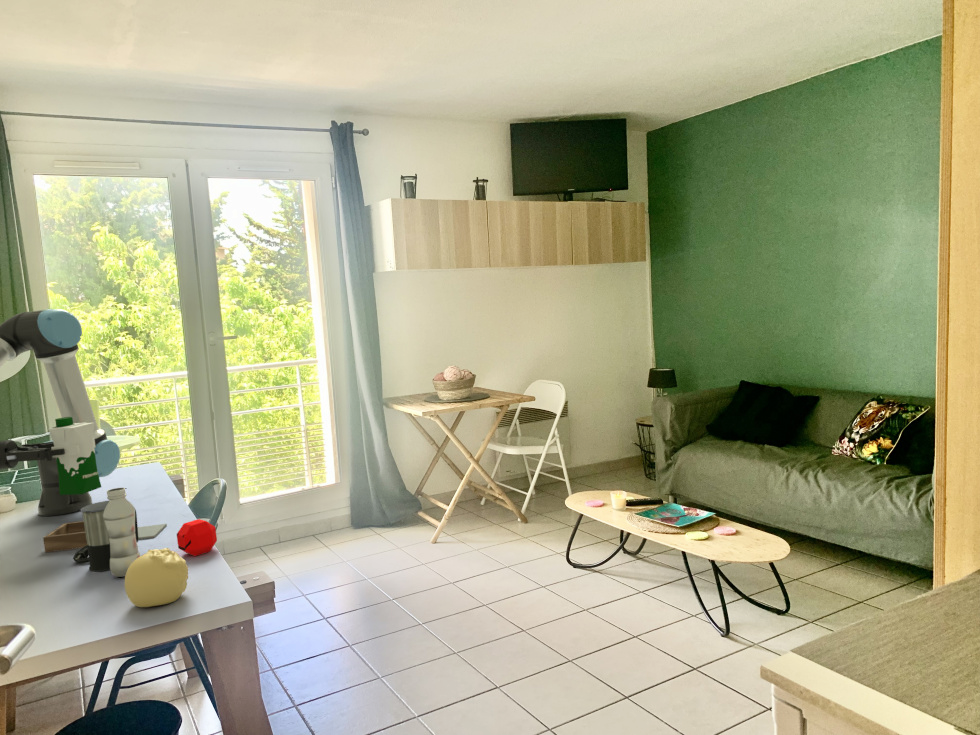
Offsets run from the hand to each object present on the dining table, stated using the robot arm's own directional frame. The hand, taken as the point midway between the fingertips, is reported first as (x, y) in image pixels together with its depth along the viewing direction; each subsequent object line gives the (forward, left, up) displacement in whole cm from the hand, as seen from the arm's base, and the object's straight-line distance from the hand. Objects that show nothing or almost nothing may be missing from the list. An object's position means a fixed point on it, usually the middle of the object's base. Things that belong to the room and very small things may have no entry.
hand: (86, 445), depth 196 cm
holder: (-1, -5, -26) cm, 26 cm away
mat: (-1, +10, -26) cm, 28 cm away
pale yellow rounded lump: (+53, +31, -26) cm, 67 cm away
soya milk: (0, -3, -12) cm, 13 cm away
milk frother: (+21, +8, -26) cm, 35 cm away
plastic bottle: (+33, +18, -26) cm, 46 cm away
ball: (+23, +31, -26) cm, 47 cm away
